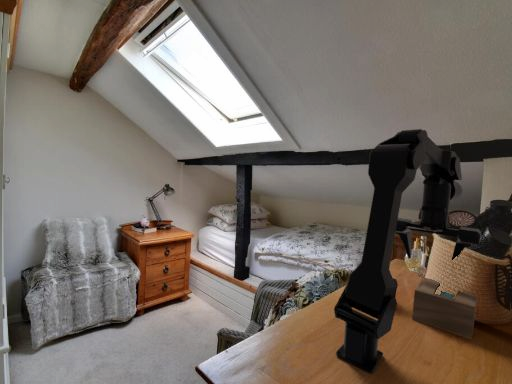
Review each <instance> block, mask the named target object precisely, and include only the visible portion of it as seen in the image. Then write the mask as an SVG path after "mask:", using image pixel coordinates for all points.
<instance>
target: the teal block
mask: <svg viewBox="0 0 512 384" xmlns="http://www.w3.org/2000/svg"><path fill="white" fill-rule="evenodd" d="M440 295H441V296H445V297H449V298H452V299H453V297H454V295H452V294H449V293H446V292H442V291H441V294H440Z"/></svg>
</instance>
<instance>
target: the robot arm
mask: <svg viewBox="0 0 512 384" xmlns="http://www.w3.org/2000/svg"><path fill="white" fill-rule="evenodd" d="M367 159H368V160H367V162H368V169H367V174H368V177H369V179H370V181H371V184H372V185H373V188H374V189H373V194H372V198H371V199H372V201H371V206H370V211H369V217H368V222H367V228H366V233H365V240H364V245H363V249H362V256H361V261H360V264H359V265H358V266H356V268H354V270H352V272H351V273H350V275H349V276H348V280H347V284H346V285H345V287H344V289H343V291H342V292H341V295H340V296H339V298H338V300H337V302H336V303H335V306H334V308H333V311H334V317H335V318H336V319H339V320H341V321H344V322H345V324H344V339H343V344H342V345H341V346H340V347H339V348H338V350H337V351H336V353H335V355H336V356H337V357H339V358H340V359H342V360H344V361H346V362H348V363H350V364H352V365H354V366H356V367H358V368H360V369H362V370H363V371H366V372H367V373H371V374H372V373H373V372H374V370H375V369H376V368H377V366H378V365H379V363H380V361H381V360H382V358H383V356H384V352H383V351H380V350H378V344H379V340H380V339H381V338H383V337H384V336H385V335H387V334H388V333H389V332H390V331H391V330H392V327H393V322H394V317H395V313H396V310H397V309H396V308H397V299H396V297H397V289H398V286H399V283H398V281H397V279H396V278H393V276H392V272H391V271H390V265H391V260H392V253H393V248H394V242H395V236H396V235H397V236H399V238H400V240H401V242H402V244H403V247H404V250H405V252H406V255H407V259H412V253H413V251H412V244H413V243H412V236H413V231H417V232H423V233H429V234H434V235H435V234H436V235H441V236H448V237H454V238H457V240H456V242H455V245H454V249H453V253H452V256H451V260H453V259H454V258H455V257H456V256H457V257H458V258H459V256H460V255H461V254H462V252H463V251H464V249H465V248H467V247H469V248H472V247H473V245H480V243H481V239H480V238H481V237H482V231H481V230H480V229H479V228H473V227H467V226H460V228H458V229H455V228H449V227H450V220H451V219H450V215H449V212H450V211H449V210H450V202H453V201H456V200H458V199H459V198H460V197H461V196H462V195H463V187H462V186H461V184H460V183H459V182H457V181H462V179H463V176H462V168H461V159H460V157H459V156H457V153H456V152H455V151H452V150H448V149H447V150H446V149H441V148H440V147H439V146H438V145H437V144H436V143H435V142H434V141H433V140H432V139H431V138H430V137H429V136H428V132H427V130H426V129H422V128H418V129H416V128H415V129H406V130H405V129H403V130H401V131H399V132H397V133H396V134H395V135H394V136H392V137H390V138H388V139H386V140H384V141H382V142H380V143H378V144H377V145H376V146H375V147H374V148H372V149H371V150H370V152H369V154H368V158H367ZM418 169H419V170H420V171H421V175H422V176H423V177H424V179H423V181H422V184H423V191H422V204H421V208H420V209H419V213H418V220H419V221H420V223H414V222H413V221H412V219H407V218H406V219H405V218H399V213H400V209H401V202H402V196H403V193H404V192H405V191H406V189H407V188H409V186H410V185H411V184H412V183H413V182H414V181H415V179H416V174H417V171H418ZM447 227H448V228H447ZM461 251H462V252H461ZM458 255H459V256H458ZM376 319H377V320H376Z"/></svg>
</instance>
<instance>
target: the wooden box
mask: <svg viewBox="0 0 512 384" xmlns="http://www.w3.org/2000/svg"><path fill="white" fill-rule="evenodd" d="M437 281H438V280H436V281H435V280H434V279H431V278H427V277H423V279H422V280H421V282H420V283H419V284H418V285H417V287H415V290H414V294H413V305H412V315H411V316H412V317H411V319H412V320H414V321H416V322H419V323H422V324H425V325H428V326H431V327H433V326H434V328H437V329H440V330H442V331H446V332H447V333H451V334H453V335H456V336H459V337H462V338H465V339H468V340H470V341H472V339H473V335H474V334H473V333H474V327H475V326H474V325H475V322H474V321H476V314H475V312H476V313H477V305H476V303H477V304H478V296H477V295H473V294H469V293H465V292H461V291H458V293H457V295H456V298H455V299H452V298H449V297H445V296H441V295H438V294H435V292H436V290H437V288H438V287H439V286H440V283H439V282H440V281H439V282H437Z"/></svg>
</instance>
